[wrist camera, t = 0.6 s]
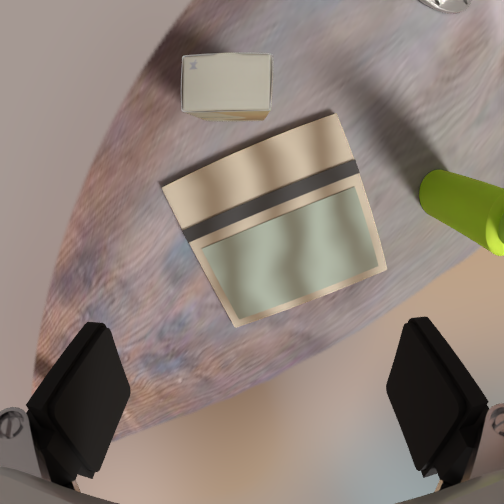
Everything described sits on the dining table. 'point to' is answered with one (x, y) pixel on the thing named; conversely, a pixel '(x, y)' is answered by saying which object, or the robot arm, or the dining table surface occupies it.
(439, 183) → the soap dispenser
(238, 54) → the skincare box
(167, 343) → the dining table surface
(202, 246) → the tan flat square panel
